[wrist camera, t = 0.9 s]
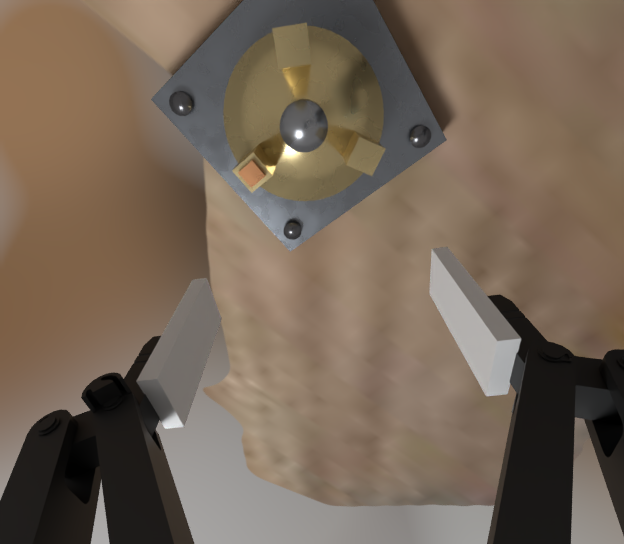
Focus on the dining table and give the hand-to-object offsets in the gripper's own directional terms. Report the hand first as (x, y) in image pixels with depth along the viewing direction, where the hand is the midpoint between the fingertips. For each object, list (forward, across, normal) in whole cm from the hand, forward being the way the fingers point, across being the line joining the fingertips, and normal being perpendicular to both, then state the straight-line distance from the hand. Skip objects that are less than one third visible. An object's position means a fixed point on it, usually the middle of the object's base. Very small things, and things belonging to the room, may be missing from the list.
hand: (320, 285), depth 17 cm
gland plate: (+22, 0, +6) cm, 23 cm away
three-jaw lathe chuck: (+20, 0, +6) cm, 20 cm away
